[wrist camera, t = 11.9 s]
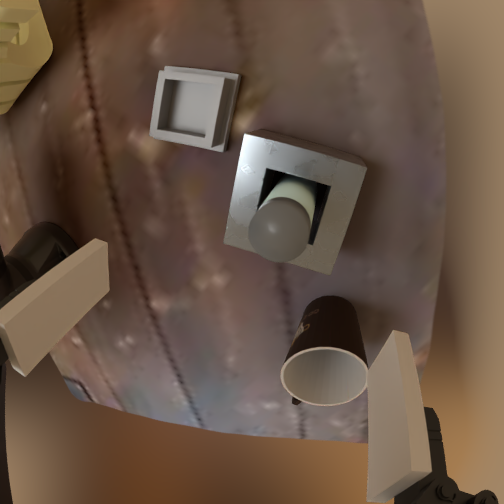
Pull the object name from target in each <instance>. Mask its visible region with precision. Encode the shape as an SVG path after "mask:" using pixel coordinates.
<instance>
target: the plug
mask: <svg viewBox="0 0 504 504" xmlns="http://www.w3.org/2000/svg"><path fill="white" fill-rule="evenodd" d="M317 193H318V187H317V183H316V181H312V180H309V179H305V178H302V177H298V176H295V175H291V174H288V173H286V174H284V175H283V176H282V178H281V179H280V180H279V182H278V183H277V184H276V186H275V187H274V189H273V190H272V191H271V193H270V194H269V195H268V197H267V198H266V200H265V201H264V202H263V204H262V205H261V206H260V208H259V209H258V211H257V212H256V213H255V215H254V216H253V218H252V219H251V221H250V224H249V228H248V236H249V240H250V243H251V245H252V247H253V248H254V250H255V251H256V252H257V253H258V254H259V255H260V256H262V257H263V258H265V259H267V260H270V261H273V262H288V261H291V260H294V259H295V258H297V257H298V256H300V255H301V254H302V253H303V251H304V250H305V248H306V246H307V244H308V240H309V235H310V230H311V225H312V220H313V214H314V209H315V204H316V198H317Z"/></svg>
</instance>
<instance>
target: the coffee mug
mask: <svg viewBox="0 0 504 504" xmlns="http://www.w3.org/2000/svg"><path fill="white" fill-rule="evenodd" d="M368 370H369V369H368V364H367V359H366V355H365V350H364V346H363V341H362V337H361V332H360V328H359V324H358V320H357V315H356V311H355V309H354V307H353V306H352V305H351V304H350V303H349V302H348V301H347V300H345V299H343V298H340V297H337V296H323V297H320V298H317V299H315V300H314V301H312V302H311V303H310V304H309V305H308V306H307V308H306V310H305V312H304V314H303V317H302V320H301V322H300V325H299V327H298V330H297V332H296V335H295V337H294V340H293V342H292V345H291V347H290V350H289V352H288V355H287V357H286V359H285V362H284V364H283V367H282V369H281V374H280V377H281V382H282V384H283V387H284V388H285V389H286V391H287V392H288V393H289V394H291V395H292V396H293V398H292V404H294V405H298V404H299V403H301V402H305V403H308V404H312V405H318V406H333V405H339V404H344V403H346V402H349V401H351V400H353V399H355V398H356V397H358V396H359V395H360V394H361V393H362V392H363V391H364V390H365V389H366V387H367V371H368Z"/></svg>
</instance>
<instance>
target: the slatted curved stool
mask: <svg viewBox="0 0 504 504" xmlns="http://www.w3.org/2000/svg"><path fill="white" fill-rule="evenodd" d="M52 51H53V43H52V40H51V38H50V35H49V32H48V29H47V26H46V23H45V20H44V17H43V14H42V11H41V7H40V4H39V1H38V0H0V115H1V114H4V113H6V112H7V111H8V110H9V109H10V108H11V106H12V105H13V103H14V102H15V101H16V99H17V98H18V96H19V95H20V94H21V92H22V91H23V90H24V88H25V87H26V86H27V85H28V83H29V82H30V81H31V79H32V78H33V77H34V76H35V74H36V73H37V72H38V71H39V70H40V68H41V67H42V66H43V65H44V64H45V63H46V61H47V60H48V59H49V57H50V56H51V54H52Z"/></svg>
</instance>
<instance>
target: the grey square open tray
mask: <svg viewBox="0 0 504 504" xmlns="http://www.w3.org/2000/svg"><path fill="white" fill-rule="evenodd" d="M240 80H241V75H239V74H232V73H226V72H219V71H211V70H203V69H193V68H183V67H171V66H165V69H164V71H159V75H158V81H157V87H156V93H155V99H154V105H153V112H152V119H151V126H150V134H149V136H152V137H154V139H160V140H165V141H171V142H176V143H181V144H186V145H191V146H196V147H200V148H205V149H210V150H214V151H219V152H225V151H226V149H227V144H228V138H229V133H230V128H231V123H232V118H233V113H234V108H235V103H236V99H237V94H238V89H239V84H240Z"/></svg>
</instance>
